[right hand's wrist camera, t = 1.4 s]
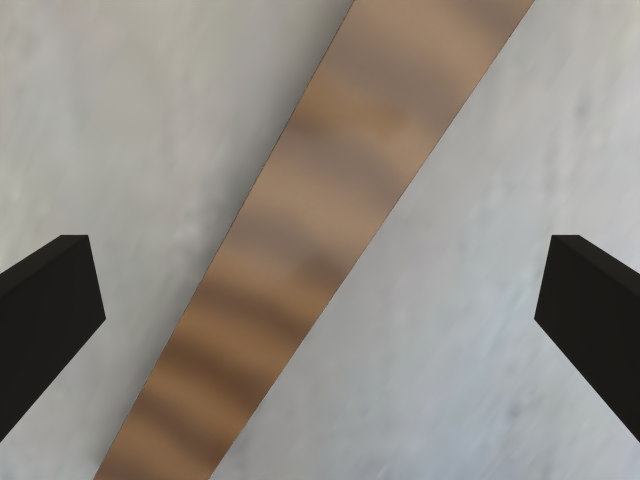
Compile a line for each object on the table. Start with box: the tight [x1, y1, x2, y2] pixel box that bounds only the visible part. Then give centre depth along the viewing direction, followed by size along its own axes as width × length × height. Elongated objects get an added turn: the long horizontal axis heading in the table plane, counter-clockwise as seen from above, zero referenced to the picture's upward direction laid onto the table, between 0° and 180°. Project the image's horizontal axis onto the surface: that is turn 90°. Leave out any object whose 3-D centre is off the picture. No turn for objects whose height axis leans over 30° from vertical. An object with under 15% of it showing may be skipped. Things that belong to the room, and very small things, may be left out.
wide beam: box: [93, 0, 534, 480], centre depth 32 cm, size 71×9×7 cm, turn 150°
